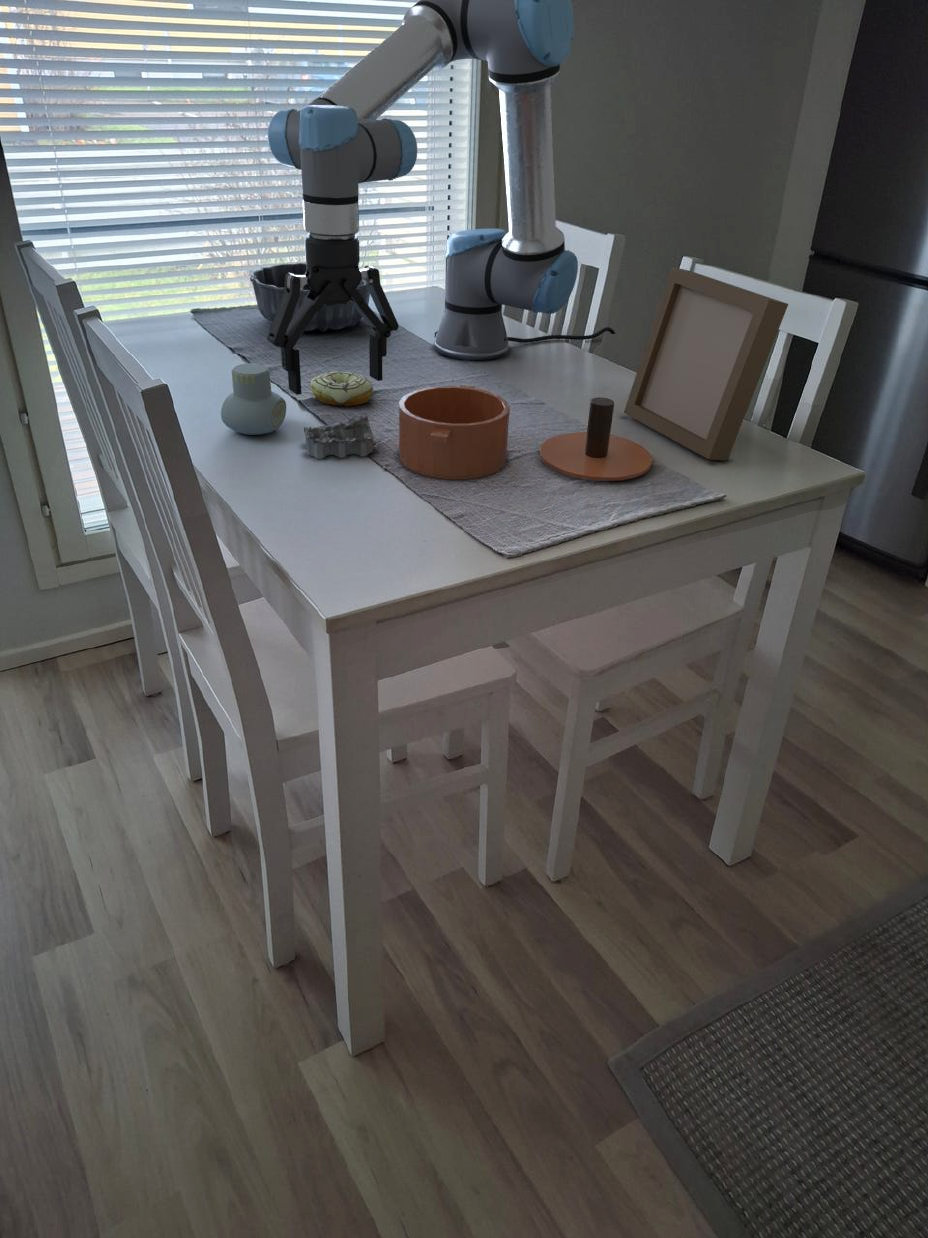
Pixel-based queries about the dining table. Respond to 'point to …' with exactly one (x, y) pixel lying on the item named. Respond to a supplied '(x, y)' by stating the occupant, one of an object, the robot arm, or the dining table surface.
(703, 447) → the photo frame
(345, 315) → the bundt pan
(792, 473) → the dining table surface
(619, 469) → the lid
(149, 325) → the dining table surface
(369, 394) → the decorated donut
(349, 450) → the egg carton
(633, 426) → the dining table surface
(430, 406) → the pot
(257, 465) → the dining table surface
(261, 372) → the air freshener
